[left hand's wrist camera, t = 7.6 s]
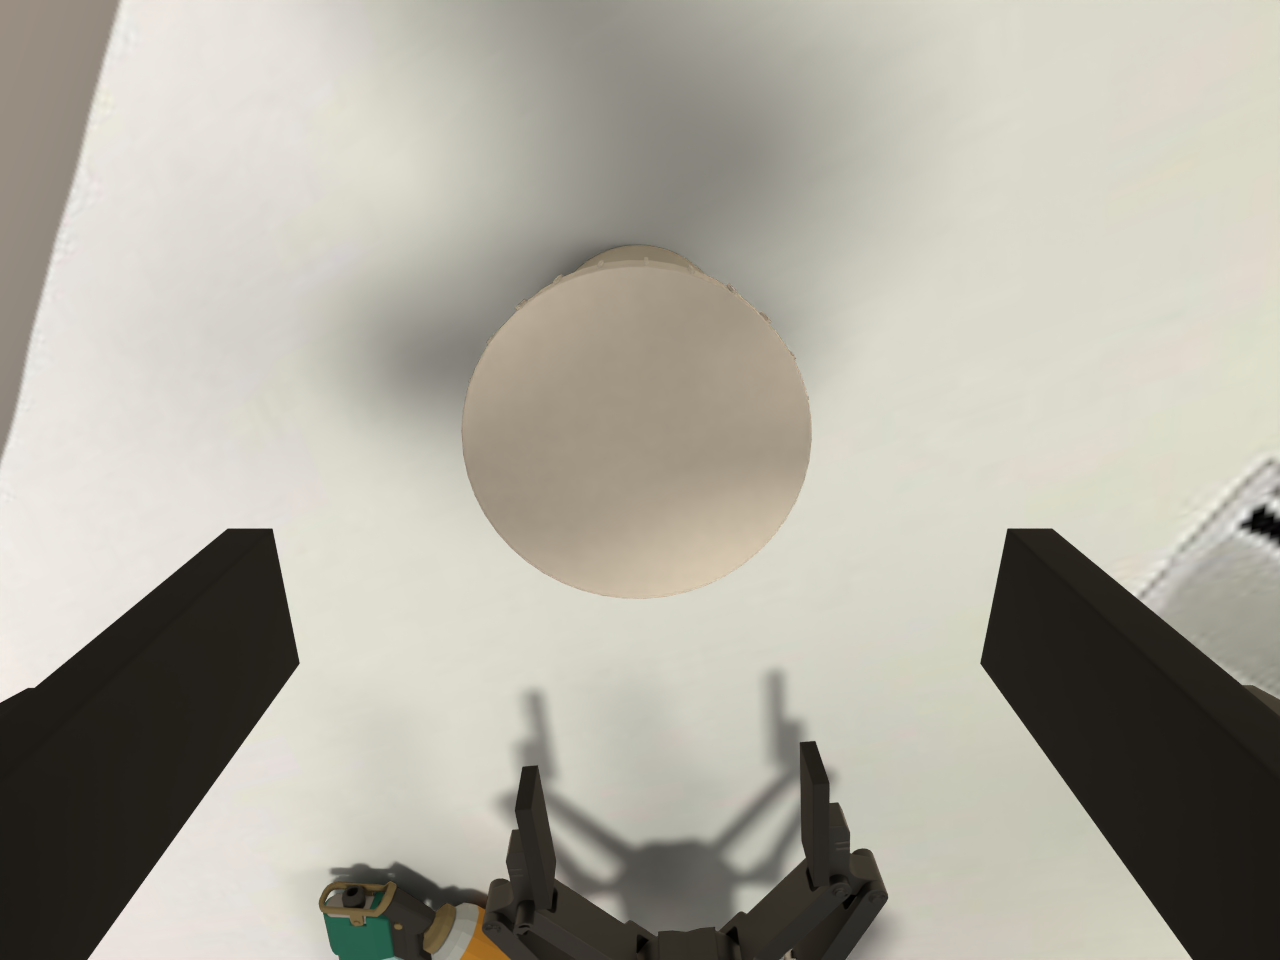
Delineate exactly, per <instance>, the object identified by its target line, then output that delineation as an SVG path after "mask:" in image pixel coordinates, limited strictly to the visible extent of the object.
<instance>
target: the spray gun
mask: <svg viewBox="0 0 1280 960" xmlns="http://www.w3.org/2000/svg"><path fill="white" fill-rule="evenodd" d="M396 887H397V885H396V883H394V882H392V881H389V882H388V883H387V884H385V885H378V884H363V883H349V882H334V883H331V884H329V885H328V886H327V887H326V888H325V889H324V891H323V893H322V895H321V897H320V900H319V907H320V910H321V912H323V915H324V919H325V924H326V928H327V933H328V937H329V942H330V946H331V949H332V951H333V952H334V953H335V954H336V955H338V956H339V960H511V959H510V958H509V957H507V956H506V955H505V954H504V953H503V952H502V951H501V950H500V949H499V948H498V947H497V946H496V945H495V944H494V943H493V942H492V941H491V940H490V939H489V938H488V937H487V936H486V935H485V934H484V933H483V932H482V924H483V919H484V914H485V909H483V908H481V907H480V906H478V905H475V904H470V903H462V904H460V905H458V906H456V907H454V906H453V905H451V904H448V903H446V904H444V905H443V906H442V907H441V908H439V909H438V910H437V911H435V912H434V911H433V910H432V909H431V908H430V907H428V906H427V905H425V904H424V903H422V902H420V901H419V900H417V899H416V898H414V897H413V896H411V895H409V894H408V893H406V892H405V891H403V890H401V889H400V888H396ZM335 889H346V890H345V891H344V893H338V894H336V895H334V896H332V897H330V898H329V899H328V900H327V901H326V899H327V897H328V895H329V893H330V892H331V891H333V890H335ZM373 891H379V892H377V893H376V894H375V896H374V895H373ZM381 892H386V893H385V894H384V895H383V893H381ZM325 901H326V902H325ZM324 903H325V904H324ZM423 932H424V939H423V934H422V933H423Z"/></svg>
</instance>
